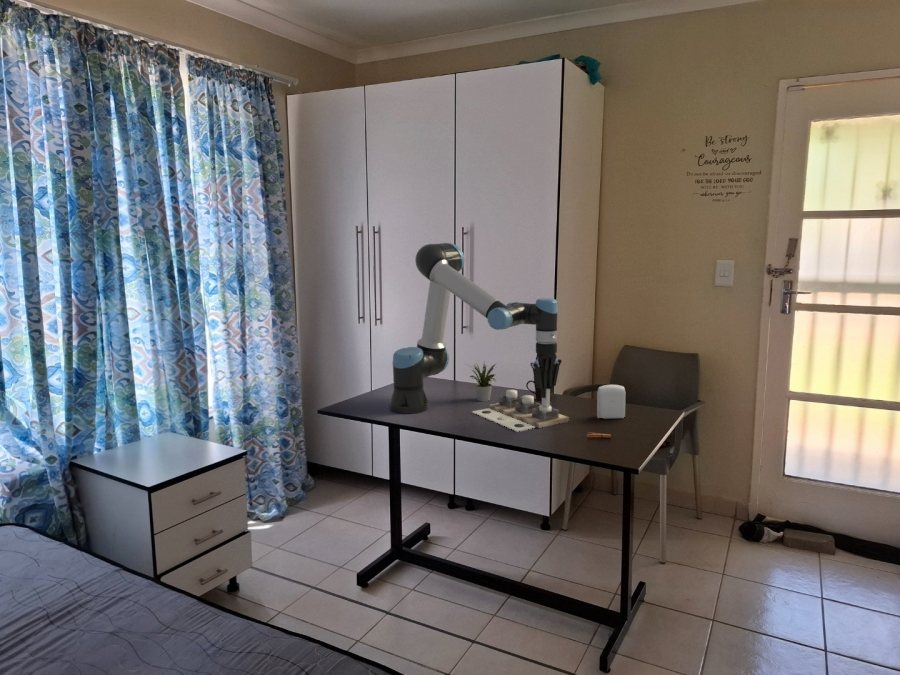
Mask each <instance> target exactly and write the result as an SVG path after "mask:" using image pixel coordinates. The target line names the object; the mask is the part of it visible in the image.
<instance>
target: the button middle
mask: <svg viewBox="0 0 900 675" xmlns="http://www.w3.org/2000/svg"><path fill="white" fill-rule="evenodd" d="M521 397H522V404H523V405H526V406H529V405H533V404H534V402H535V396H534V395H531V394H530V395H529V394H525V395H522V396H521Z"/></svg>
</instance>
